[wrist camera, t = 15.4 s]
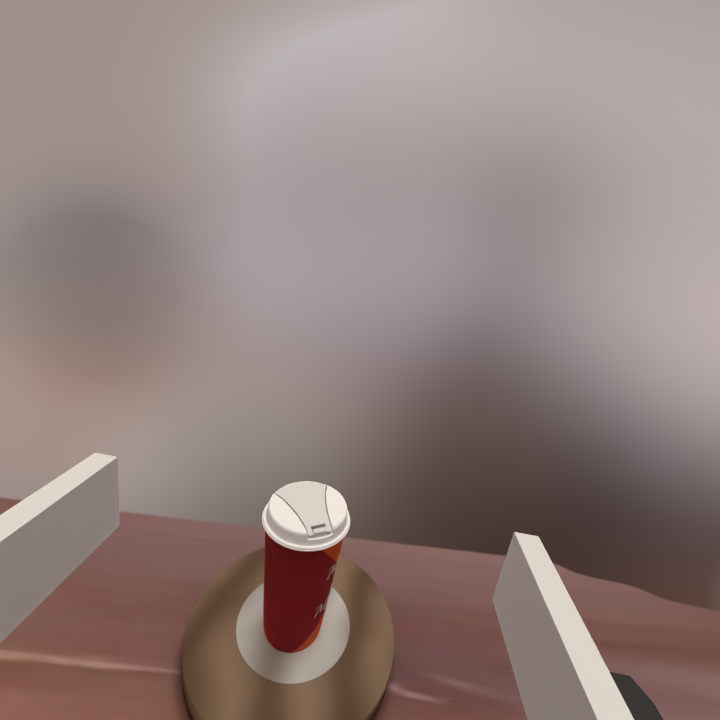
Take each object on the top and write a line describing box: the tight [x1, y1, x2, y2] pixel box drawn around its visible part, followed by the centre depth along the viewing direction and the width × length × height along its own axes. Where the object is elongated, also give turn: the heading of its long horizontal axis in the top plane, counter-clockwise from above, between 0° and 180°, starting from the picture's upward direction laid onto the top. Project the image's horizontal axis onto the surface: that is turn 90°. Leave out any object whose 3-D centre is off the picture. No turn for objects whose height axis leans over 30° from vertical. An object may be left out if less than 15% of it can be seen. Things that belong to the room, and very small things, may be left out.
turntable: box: [182, 548, 395, 720], centre depth 37 cm, size 20×20×2 cm
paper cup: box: [262, 481, 350, 653], centre depth 34 cm, size 8×8×14 cm
